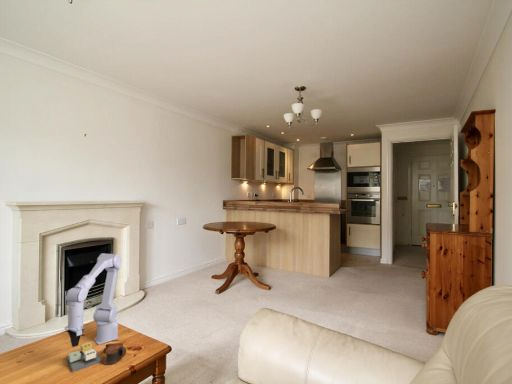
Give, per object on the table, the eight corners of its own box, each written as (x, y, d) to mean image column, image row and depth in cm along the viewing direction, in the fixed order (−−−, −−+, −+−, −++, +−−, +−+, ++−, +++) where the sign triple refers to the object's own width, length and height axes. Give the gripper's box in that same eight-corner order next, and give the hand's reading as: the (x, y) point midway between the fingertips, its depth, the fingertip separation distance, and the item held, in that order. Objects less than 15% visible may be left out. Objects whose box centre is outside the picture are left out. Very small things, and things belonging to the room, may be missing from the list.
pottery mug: (95, 365, 123) (99, 344, 127) (111, 364, 131) (114, 344, 135) (118, 363, 121) (121, 341, 125) (133, 362, 128) (135, 341, 133)
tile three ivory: (93, 353, 127) (93, 348, 127) (96, 357, 124) (96, 351, 124) (83, 356, 124) (83, 351, 124) (85, 360, 122) (86, 355, 122)
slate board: (93, 350, 135) (93, 347, 135) (101, 361, 125) (101, 358, 125) (65, 359, 127) (65, 356, 127) (71, 372, 117) (71, 369, 117)
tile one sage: (78, 355, 127) (78, 349, 127) (80, 359, 124) (80, 353, 124) (68, 358, 124) (68, 353, 124) (70, 362, 121) (70, 357, 121)
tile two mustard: (90, 346, 133) (90, 341, 133) (92, 349, 130) (92, 344, 130) (80, 349, 130) (80, 343, 131) (82, 352, 128) (82, 347, 128)
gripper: (61, 312, 127) (61, 342, 127) (68, 323, 116) (67, 356, 116) (79, 308, 132) (78, 337, 132) (87, 318, 121) (87, 349, 121)
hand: (74, 345), depth 124 cm, fingers closed
